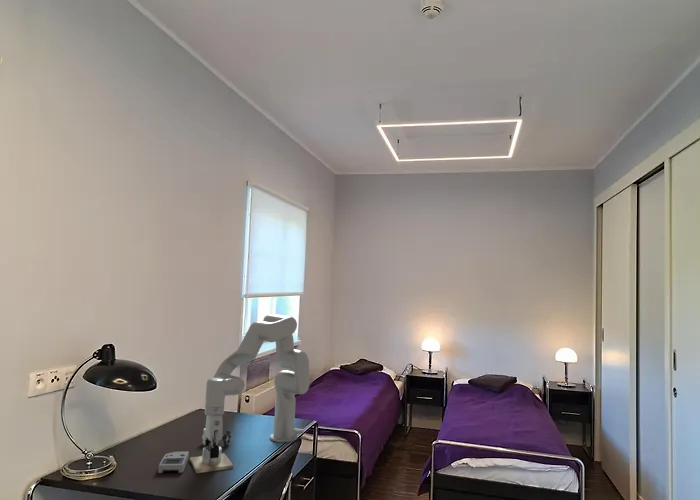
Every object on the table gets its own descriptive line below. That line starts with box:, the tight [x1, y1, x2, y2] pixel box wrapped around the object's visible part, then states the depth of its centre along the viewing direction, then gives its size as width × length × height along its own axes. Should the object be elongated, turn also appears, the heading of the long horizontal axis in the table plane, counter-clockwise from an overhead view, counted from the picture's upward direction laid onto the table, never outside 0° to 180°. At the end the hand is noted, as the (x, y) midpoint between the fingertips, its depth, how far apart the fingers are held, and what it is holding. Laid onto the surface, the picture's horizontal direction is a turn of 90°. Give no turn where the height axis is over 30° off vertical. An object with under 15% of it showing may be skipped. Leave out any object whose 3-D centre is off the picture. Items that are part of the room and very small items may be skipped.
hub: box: [201, 445, 223, 465], centre depth 194 cm, size 7×7×5 cm
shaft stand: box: [189, 442, 234, 474], centre depth 194 cm, size 14×14×8 cm
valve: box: [202, 427, 232, 447], centre depth 217 cm, size 7×7×12 cm
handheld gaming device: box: [157, 450, 190, 474], centre depth 190 cm, size 9×15×4 cm, turn 10°
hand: (211, 453), depth 194 cm, fingers open, 9 cm apart
